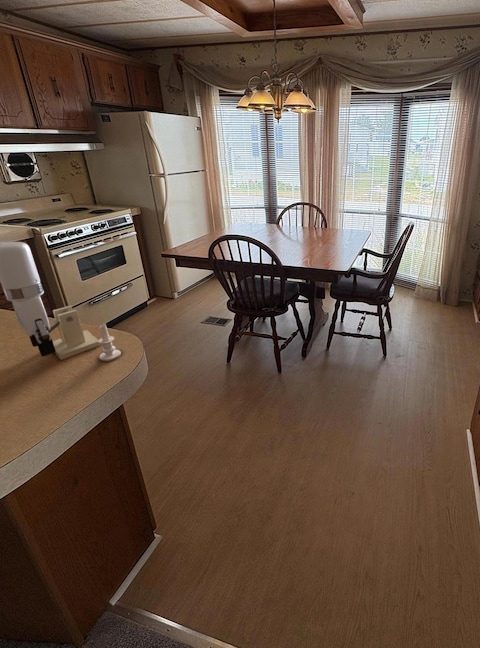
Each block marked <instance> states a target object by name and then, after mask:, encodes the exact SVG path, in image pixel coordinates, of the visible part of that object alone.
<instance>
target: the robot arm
mask: <svg viewBox="0 0 480 648" xmlns="http://www.w3.org/2000/svg"><path fill="white" fill-rule="evenodd" d="M0 285H1V287H2V290H3V293H4V295H5V298H6V300H7V301H8V302H11V304H12V307H13V310H14V313H15V316H16V319H17V320H16V321H17V323H18V326H19V327H20V329H21V330H22V331H23V332H24V334H26V336H28V337H29V340H30V342H31V345H32V347H35V348H36V347H37V349H38V351H39V353H40V356H41V357H47V356H49V355H51V354H55V352H56V350H55V347H54V344H53V341H54V340H53V339H52V337H51V334H50V333H49V332H48V331H49V330H50V326H51V324H50V321H49V318H48V313H47V311H46V308H45V306H44V303H43V301H42V298H41V296H42V295H43V294H44V293H45V291H44V288H43V285H42V282H41V277H40V275H39V273H38V269H37V266H36V263H35V260H34V257H33V254H32V251H31V248H30V246H29V245H28V243H26V242H22V241H9V242H3V241H0ZM36 331H38V332H37V333H36ZM38 334H41V336H40V338H39V336H38ZM34 335H35V336H34Z"/></svg>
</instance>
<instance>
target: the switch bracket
mask: <svg viewBox="0 0 480 648" xmlns="http://www.w3.org/2000/svg"><path fill="white" fill-rule="evenodd" d="M65 309H67V310H68V311H69V312H65V313H62V312H63V311H64V310H65ZM52 313H53V317H54V319H55V322H56V321H57V320H58V319H59V322H60V325H59V326H58V327H57V330H58V333H59V336H60V338H57V339H55V340H52V341H53V344H54V347H55V350H56V352H55V353H54V354H55V355H56V356H57V357H58V358H59V360H64V359H67V358H70V357H73V356H75V355H78V354H80V353H83V352H85V351H90V350H91V349H94V348H98V347H100V346H101V343H99V342H98V340H99V339H98V338H97V337H96V336H94V334H92V332H90V331H89V330H88V329H86V330H83V326H82V324H81V320H80V317H79V316H80V315H79V313H78V310H77V309H73V306H72V305H67V306H64V307H60V308H56V309H53V310H52ZM60 313H62V314H60Z"/></svg>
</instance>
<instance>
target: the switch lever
mask: <svg viewBox="0 0 480 648" xmlns="http://www.w3.org/2000/svg"><path fill="white" fill-rule="evenodd" d="M65 312H69V311H68V310H67V309H65V310H64V311H63V312H62V313H65ZM62 313H60V314H62ZM59 325H60V322H59V319H58V320H57V321H56V320H55V321H54V322H52V324H50V330H49V331H48V332H49V334H50V333H51V332H53V331H54V330H55V329H56V328H58V326H59ZM37 332H38V331H36V333H37ZM34 336H35V335H34ZM38 336H39V338H40V336H41V334H38Z"/></svg>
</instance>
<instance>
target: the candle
mask: <svg viewBox="0 0 480 648" xmlns="http://www.w3.org/2000/svg"><path fill="white" fill-rule="evenodd" d="M99 332H100V336H101V338H99V339H98V342H99V343H100V345H102V349H101V352H102V353H100V354H99V356H98V358H99V360H100V361H102V362H110V361H113V360H116V359H118V358H119V357H120V356H121V355H122V354H121V353H122V352H121V351H120V350H119V349H116V346H115V345H113V341H114V340H115V336H112V335H109V331H108V328H107V324H106V323H101V325H99Z"/></svg>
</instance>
